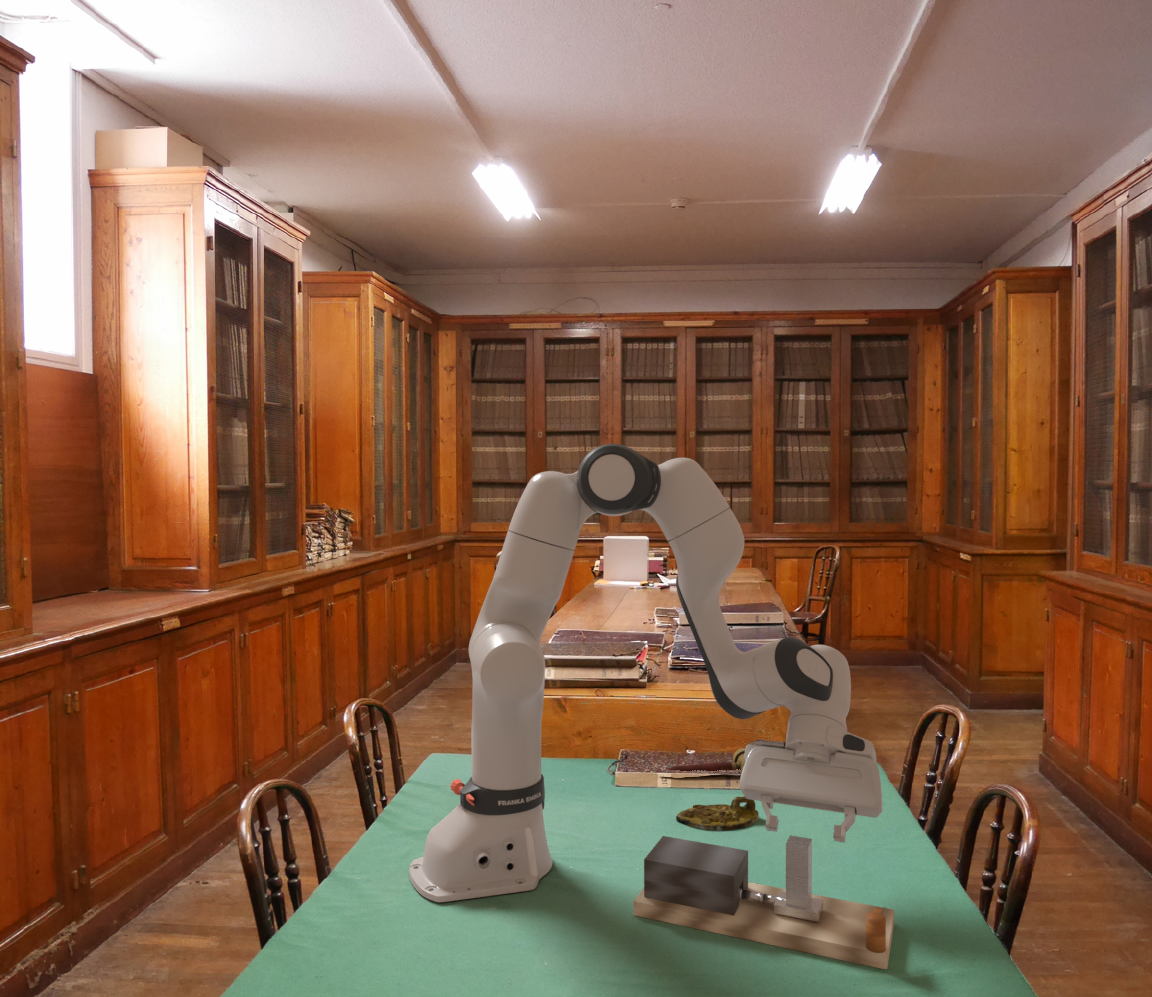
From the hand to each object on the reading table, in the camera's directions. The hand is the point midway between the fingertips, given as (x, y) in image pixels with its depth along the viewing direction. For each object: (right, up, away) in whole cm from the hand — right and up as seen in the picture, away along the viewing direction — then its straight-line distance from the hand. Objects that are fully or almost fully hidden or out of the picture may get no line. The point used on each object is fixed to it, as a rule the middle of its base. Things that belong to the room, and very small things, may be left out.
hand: (804, 834), depth 124 cm
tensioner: (-6, -11, -2) cm, 13 cm away
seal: (-7, -10, +33) cm, 35 cm away
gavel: (-5, -10, +55) cm, 56 cm away
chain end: (-9, -9, 0) cm, 13 cm away
